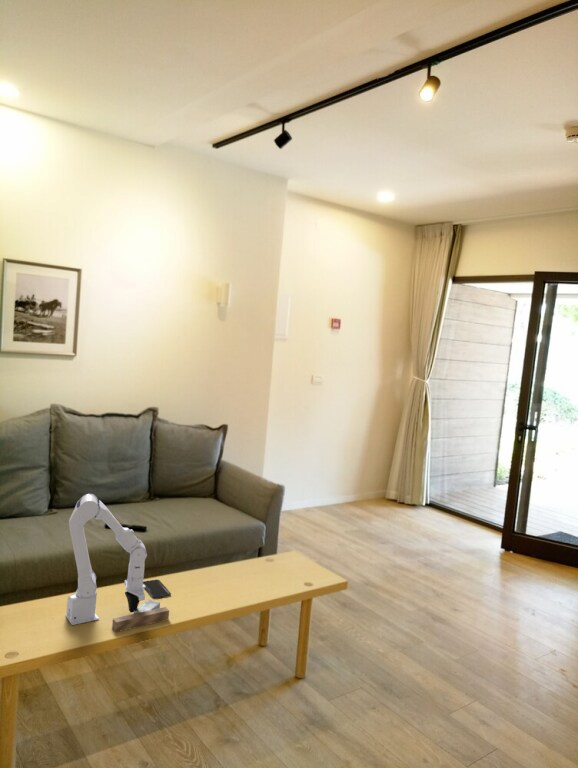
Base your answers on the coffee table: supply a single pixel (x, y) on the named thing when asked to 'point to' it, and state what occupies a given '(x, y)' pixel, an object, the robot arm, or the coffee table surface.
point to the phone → (156, 589)
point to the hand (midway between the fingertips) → (132, 611)
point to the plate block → (147, 606)
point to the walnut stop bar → (140, 619)
